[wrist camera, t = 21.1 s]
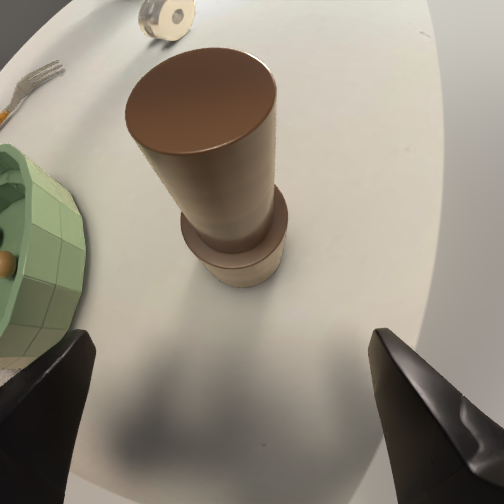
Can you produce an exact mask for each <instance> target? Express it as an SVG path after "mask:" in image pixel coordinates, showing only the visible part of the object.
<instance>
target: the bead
mask: <svg viewBox="0 0 504 504" xmlns="http://www.w3.org/2000/svg"><path fill="white" fill-rule="evenodd" d="M16 266H17V264H16V259H15V257H14V255H13V254H12V253H11V252H9V251H6V250H3V251H0V278H2V279H8V278H10V277H11V276H13V274H14V273H15V271H16Z"/></svg>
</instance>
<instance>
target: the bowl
mask: <svg viewBox="0 0 504 504" xmlns="http://www.w3.org/2000/svg"><path fill="white" fill-rule="evenodd" d="M3 250H6V251H9V252H11V253H12V254H13V255H14V257H15V259H16V264H17V266H16V271H15V273H14V274H13V276H11V277H10V278H8V279H2V278H0V369H21V368H25V367H26V366H28V365H29V364H30V363H32V362H33V361H34V360H35V359H37V358H38V357H39V356H41V355H42V354H43V353H45V352H46V351H47V350H48V349H50V348H51V347H52V346H54V345H55V344H56V343H58V342H59V341H60V340H61V339H62V338H63V336H64V335H65V334H66V332H67V331H68V329H69V327H70V324H71V321H72V318H73V315H74V312H75V310H76V307H77V304H78V301H79V299H80V296H81V292H82V285H83V275H84V267H85V259H86V246H85V239H84V231H83V222H82V217H81V215H80V213H79V211H78V209H77V207H76V205H75V202H74V200H73V198H72V196H71V194H70V192H69V191H68V190H67V189H65V188H64V187H63V186H62V185H60V184H59V183H58V182H57V181H55V180H54V179H53V178H52V177H51V176H49V175H48V174H47V173H46V172H44V171H43V170H42V169H41V168H40V167H38V166H37V165H36V164H35V163H34V162H33V161H31V160H30V159H29V158H28V157H27V156H25V155H24V154H23V153H22V152H20V151H19V150H18V149H16V148H15V147H14V146H13V145H11V144H2V145H0V251H3Z"/></svg>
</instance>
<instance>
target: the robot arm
mask: <svg viewBox="0 0 504 504" xmlns="http://www.w3.org/2000/svg"><path fill="white" fill-rule="evenodd" d="M95 356H96V348H95V345H94V343H93V342H92V340H91V338H90V336H89V334H88V332H87V331H86V330H79V329H76V330H74V331H72V332H71V333H70V334H68V335H67V336H66V337H64V338H63V339H62V340H60V341H59V342H58V343H56V344H55V345H54V346H52V347H51V348H50V349H48V350H47V351H46V352H45V353H43V354H42V355H41V356H39V357H38V358H37V359H35V360H34V361H33V362H32V363H30V364H29V365H28V366H26V367H25V368H24V369H23V370H21V371H20V372H19V373H17V374H16V375H15V376H14V377H12V378H11V379H10V380H9V381H7V382H6V383H5V384H4V385H2V386H1V387H0V504H63V503H64V497H65V490H66V484H67V478H68V473H69V468H70V463H71V459H72V454H73V450H74V445H75V441H76V437H77V433H78V429H79V425H80V421H81V417H82V413H83V409H84V406H85V402H86V399H87V395H88V391H89V386H90V381H91V376H92V371H93V366H94V361H95ZM368 357H369V363H370V369H371V375H372V382H373V389H374V396H375V400H376V405H377V408H378V412H379V416H380V420H381V424H382V429H383V433H384V437H385V441H386V446H387V450H388V454H389V459H390V464H391V468H392V474H393V478H394V484H395V489H396V495H397V500H398V504H504V429H503V428H502V427H501V426H499V425H498V424H497V423H495V422H494V421H493V420H491V419H490V418H489V417H488V416H486V415H485V414H484V413H483V412H482V411H480V410H479V409H478V408H477V407H476V406H475V405H474V404H472V403H471V402H470V401H469V400H468V399H467V398H466V397H465V396H462V394H461V393H460V392H459V391H458V390H457V389H456V388H455V387H454V386H453V385H452V384H450V383H449V382H448V381H447V380H446V379H445V378H444V377H443V376H441V375H440V374H439V373H438V372H437V371H436V370H435V369H434V368H433V367H431V366H430V365H429V364H428V363H427V362H426V361H425V360H424V359H422V358H421V357H420V356H419V355H418V354H417V353H416V352H415V351H413V350H412V349H411V348H410V347H409V346H408V345H407V344H405V343H404V342H403V341H402V340H401V339H400V338H399V337H397V336H396V335H395V334H394V333H393V332H392V331H391V330H389V329H388V328H378V329H375V330H374V331H373V333H372V337H371V340H370V344H369V347H368Z"/></svg>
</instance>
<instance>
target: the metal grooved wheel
mask: <svg viewBox="0 0 504 504" xmlns="http://www.w3.org/2000/svg"><path fill="white" fill-rule="evenodd" d="M194 17H195V3H194V0H145V2H144V3H143V5H142V6H141V9H140V11H139V16H138V23H139V27H140V29H141V31H142V32H143V33H144V34H145V35H146V36H148V37H151V38H160V39H163V40H169V41H174V40H178V39H180V38H181V37H183V36H184V35H185V34H186V33H187V32H188V31H189V29H190V27H191V26H192V23H193V21H194Z"/></svg>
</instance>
